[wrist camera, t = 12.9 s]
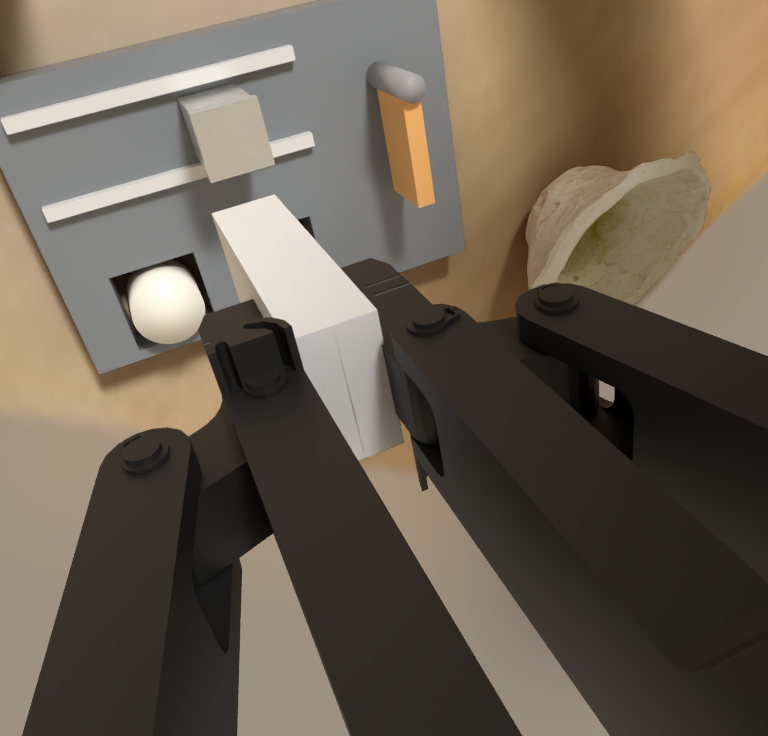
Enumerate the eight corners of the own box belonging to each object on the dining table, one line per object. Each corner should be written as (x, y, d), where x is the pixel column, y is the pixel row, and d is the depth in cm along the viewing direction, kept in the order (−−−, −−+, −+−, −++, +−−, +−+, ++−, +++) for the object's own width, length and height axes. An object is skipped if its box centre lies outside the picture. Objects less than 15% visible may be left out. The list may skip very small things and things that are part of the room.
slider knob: (174, 96, 37) (189, 115, 32) (235, 80, 37) (257, 96, 33) (194, 158, 38) (210, 183, 34) (251, 141, 39) (275, 164, 35)
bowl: (517, 351, 57) (594, 418, 49) (438, 214, 48) (514, 268, 40) (669, 235, 57) (770, 282, 49) (615, 78, 48) (727, 104, 40)
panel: (-30, 84, 35) (-37, 94, 33) (414, -24, 41) (438, -22, 38) (97, 355, 44) (99, 379, 42) (448, 237, 49) (469, 253, 47)
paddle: (364, 65, 39) (397, 77, 35) (388, 58, 40) (423, 70, 36) (386, 187, 43) (418, 211, 39) (407, 181, 43) (441, 203, 40)
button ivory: (116, 270, 42) (120, 292, 39) (183, 249, 43) (192, 269, 40) (140, 328, 44) (146, 353, 41) (204, 307, 45) (214, 330, 42)
